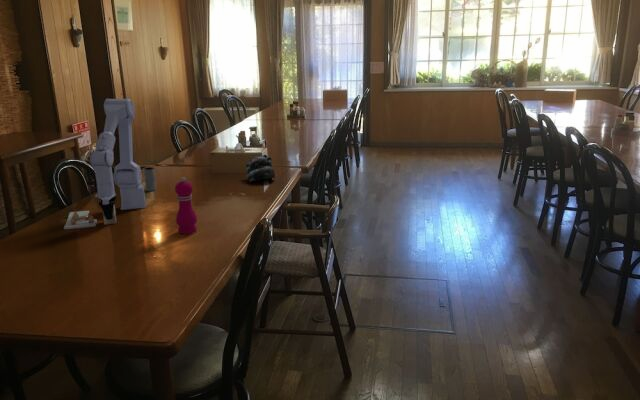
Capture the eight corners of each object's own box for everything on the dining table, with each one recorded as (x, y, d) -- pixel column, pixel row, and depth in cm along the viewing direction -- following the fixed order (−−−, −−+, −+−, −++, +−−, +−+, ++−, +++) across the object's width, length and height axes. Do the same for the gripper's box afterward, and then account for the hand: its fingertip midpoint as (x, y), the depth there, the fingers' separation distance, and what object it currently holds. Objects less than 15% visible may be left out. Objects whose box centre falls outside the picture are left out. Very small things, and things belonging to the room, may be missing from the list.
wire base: (98, 217, 198) (97, 215, 198) (95, 226, 188) (95, 224, 188) (68, 220, 195) (68, 218, 195) (64, 229, 185) (63, 227, 185)
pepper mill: (201, 229, 184) (197, 175, 178) (190, 236, 178) (186, 180, 172) (184, 227, 187) (179, 174, 181) (173, 233, 180) (167, 179, 174)
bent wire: (96, 215, 197) (95, 209, 197) (93, 222, 190) (93, 216, 189) (74, 218, 195) (73, 211, 194) (71, 224, 188) (70, 218, 187)
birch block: (116, 220, 195) (114, 202, 193) (115, 223, 191) (113, 205, 189) (105, 221, 194) (102, 203, 192) (104, 224, 190) (101, 206, 188)
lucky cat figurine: (242, 183, 245) (238, 155, 247) (253, 187, 256) (249, 160, 259) (270, 176, 241) (266, 148, 243) (280, 180, 252) (276, 153, 254)
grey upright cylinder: (153, 191, 233) (151, 169, 230) (144, 191, 233) (141, 169, 230) (158, 189, 237) (156, 167, 234) (149, 188, 238) (147, 167, 235)
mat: (89, 211, 205) (89, 210, 205) (87, 216, 199) (87, 215, 199) (70, 213, 203) (70, 212, 203) (67, 218, 197) (67, 217, 197)
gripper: (95, 178, 193) (100, 212, 197) (91, 188, 180) (96, 224, 184) (115, 177, 195) (119, 210, 199) (112, 186, 182) (117, 222, 186)
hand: (109, 217), depth 192 cm, fingers closed on birch block, 4 cm apart
